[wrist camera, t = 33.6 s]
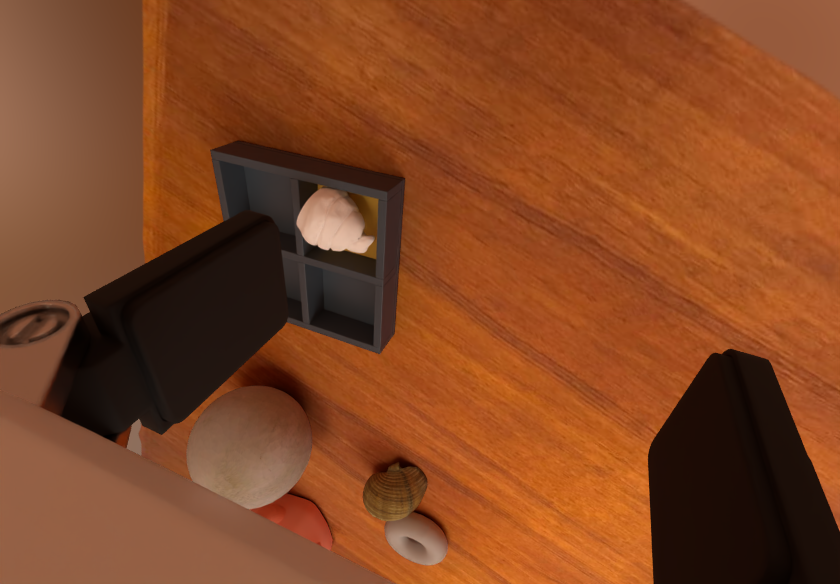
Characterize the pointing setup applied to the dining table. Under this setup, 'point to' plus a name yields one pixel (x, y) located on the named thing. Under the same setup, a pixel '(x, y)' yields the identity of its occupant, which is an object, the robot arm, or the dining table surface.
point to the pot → (298, 518)
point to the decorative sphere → (250, 445)
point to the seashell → (394, 492)
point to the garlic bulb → (333, 222)
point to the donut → (417, 539)
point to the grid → (309, 264)
